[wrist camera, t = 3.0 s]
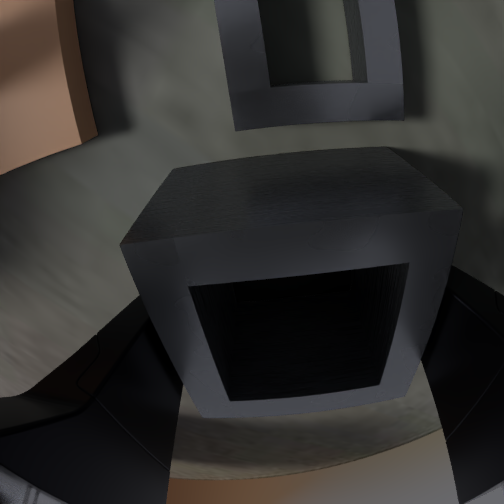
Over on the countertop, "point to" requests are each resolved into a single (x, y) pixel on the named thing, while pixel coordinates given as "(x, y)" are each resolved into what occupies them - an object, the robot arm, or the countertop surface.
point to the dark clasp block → (319, 92)
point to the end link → (294, 264)
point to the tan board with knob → (41, 82)
